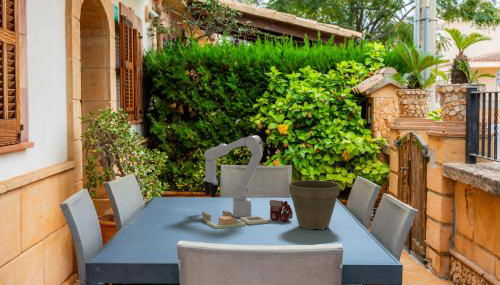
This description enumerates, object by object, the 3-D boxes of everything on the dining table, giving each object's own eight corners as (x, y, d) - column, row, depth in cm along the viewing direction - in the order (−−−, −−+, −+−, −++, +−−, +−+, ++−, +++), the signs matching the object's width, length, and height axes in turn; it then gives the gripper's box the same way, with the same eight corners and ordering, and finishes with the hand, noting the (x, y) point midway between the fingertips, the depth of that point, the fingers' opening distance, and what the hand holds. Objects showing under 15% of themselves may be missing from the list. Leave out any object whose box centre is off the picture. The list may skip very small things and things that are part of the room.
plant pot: (305, 235, 258) (307, 188, 257) (278, 224, 280) (279, 181, 279) (348, 230, 270) (350, 185, 268) (319, 220, 292) (321, 179, 290)
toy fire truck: (289, 222, 284) (290, 202, 283) (267, 220, 289) (267, 200, 288) (293, 220, 291) (294, 200, 290) (271, 217, 295) (272, 198, 294)
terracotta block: (229, 223, 279) (229, 216, 279) (234, 226, 274) (235, 218, 274) (218, 225, 276) (218, 217, 276) (224, 227, 271) (224, 219, 271)
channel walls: (224, 217, 293) (225, 210, 292) (231, 220, 285) (231, 213, 285) (202, 219, 287) (202, 212, 286) (208, 222, 280) (208, 215, 279)
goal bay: (235, 221, 284) (235, 219, 284) (245, 225, 275) (245, 223, 275) (206, 223, 277) (206, 221, 277) (215, 228, 267) (215, 226, 267)
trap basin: (259, 219, 291) (259, 215, 290) (268, 223, 282) (268, 219, 282) (240, 220, 286) (240, 217, 285) (249, 224, 277) (249, 221, 277)
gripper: (198, 169, 307) (198, 194, 308) (209, 173, 294) (208, 198, 295) (210, 169, 310) (210, 193, 311) (221, 172, 297) (220, 197, 298)
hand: (210, 196), depth 303 cm, fingers open, 7 cm apart
